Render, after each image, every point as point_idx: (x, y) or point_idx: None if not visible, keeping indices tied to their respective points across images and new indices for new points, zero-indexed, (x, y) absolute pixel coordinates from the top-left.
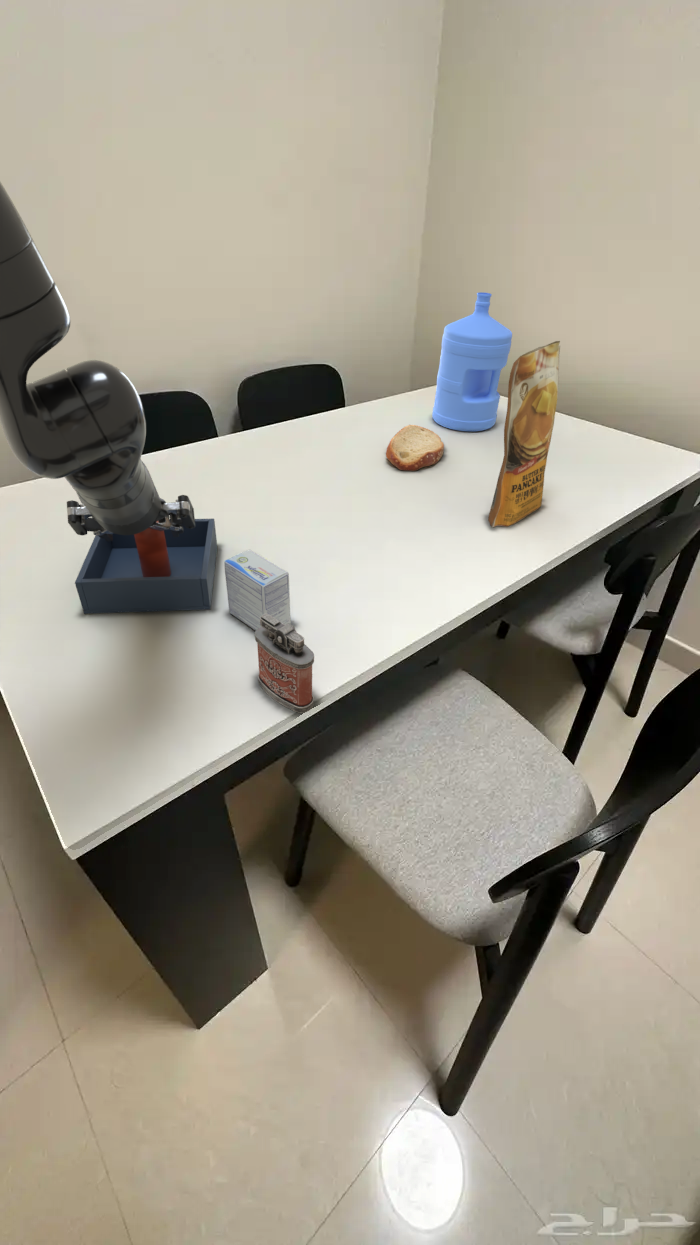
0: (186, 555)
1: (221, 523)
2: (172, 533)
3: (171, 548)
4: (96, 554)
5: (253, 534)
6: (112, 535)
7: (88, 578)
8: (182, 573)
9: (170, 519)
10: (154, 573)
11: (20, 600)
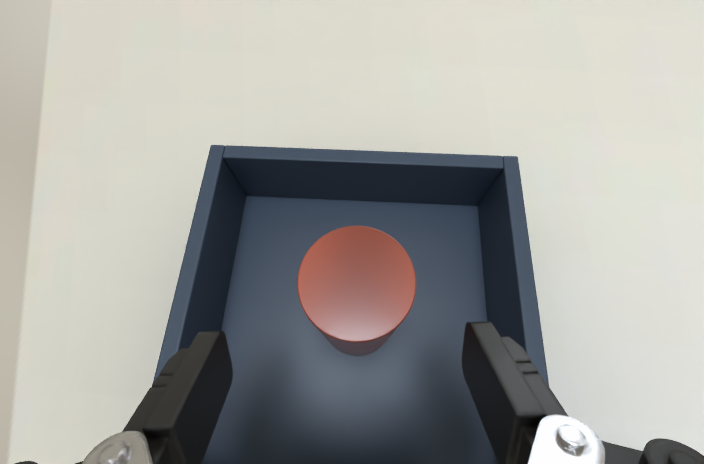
0: (421, 240)
1: (480, 107)
2: (485, 428)
3: (382, 207)
4: (198, 302)
5: (562, 154)
6: (229, 359)
7: None
8: (421, 323)
9: (515, 437)
10: (357, 354)
11: (37, 388)
